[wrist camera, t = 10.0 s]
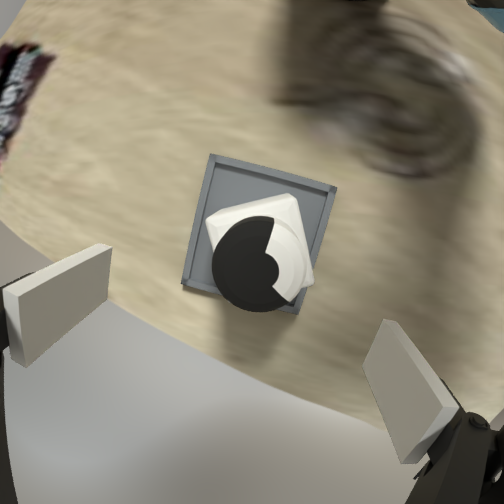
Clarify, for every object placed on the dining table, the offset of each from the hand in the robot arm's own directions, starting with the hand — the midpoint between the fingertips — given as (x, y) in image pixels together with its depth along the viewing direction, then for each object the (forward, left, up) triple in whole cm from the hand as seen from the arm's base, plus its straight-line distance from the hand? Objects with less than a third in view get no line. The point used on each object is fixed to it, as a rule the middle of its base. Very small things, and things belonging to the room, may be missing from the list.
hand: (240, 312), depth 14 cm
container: (0, +1, -20) cm, 20 cm away
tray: (0, 0, -21) cm, 21 cm away
